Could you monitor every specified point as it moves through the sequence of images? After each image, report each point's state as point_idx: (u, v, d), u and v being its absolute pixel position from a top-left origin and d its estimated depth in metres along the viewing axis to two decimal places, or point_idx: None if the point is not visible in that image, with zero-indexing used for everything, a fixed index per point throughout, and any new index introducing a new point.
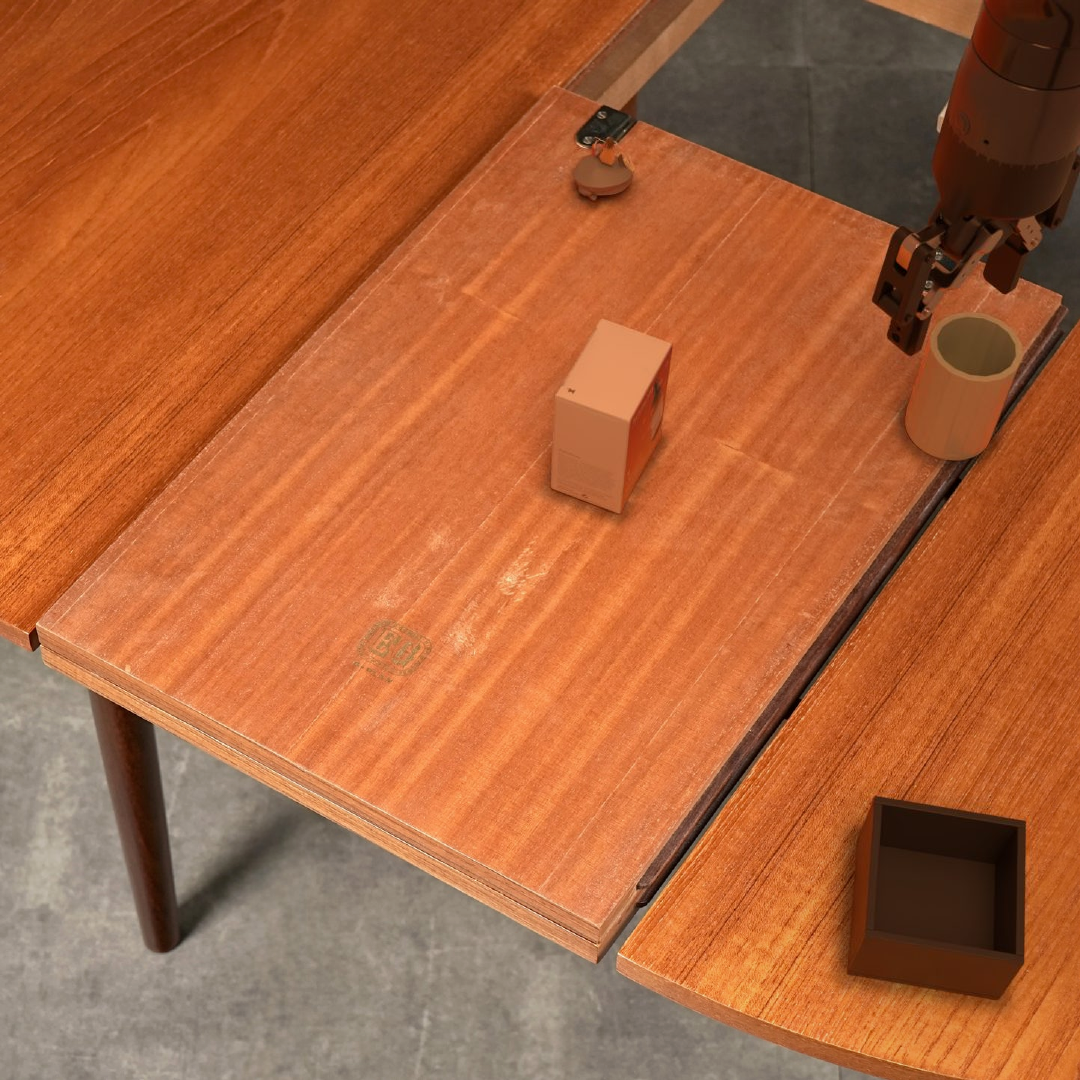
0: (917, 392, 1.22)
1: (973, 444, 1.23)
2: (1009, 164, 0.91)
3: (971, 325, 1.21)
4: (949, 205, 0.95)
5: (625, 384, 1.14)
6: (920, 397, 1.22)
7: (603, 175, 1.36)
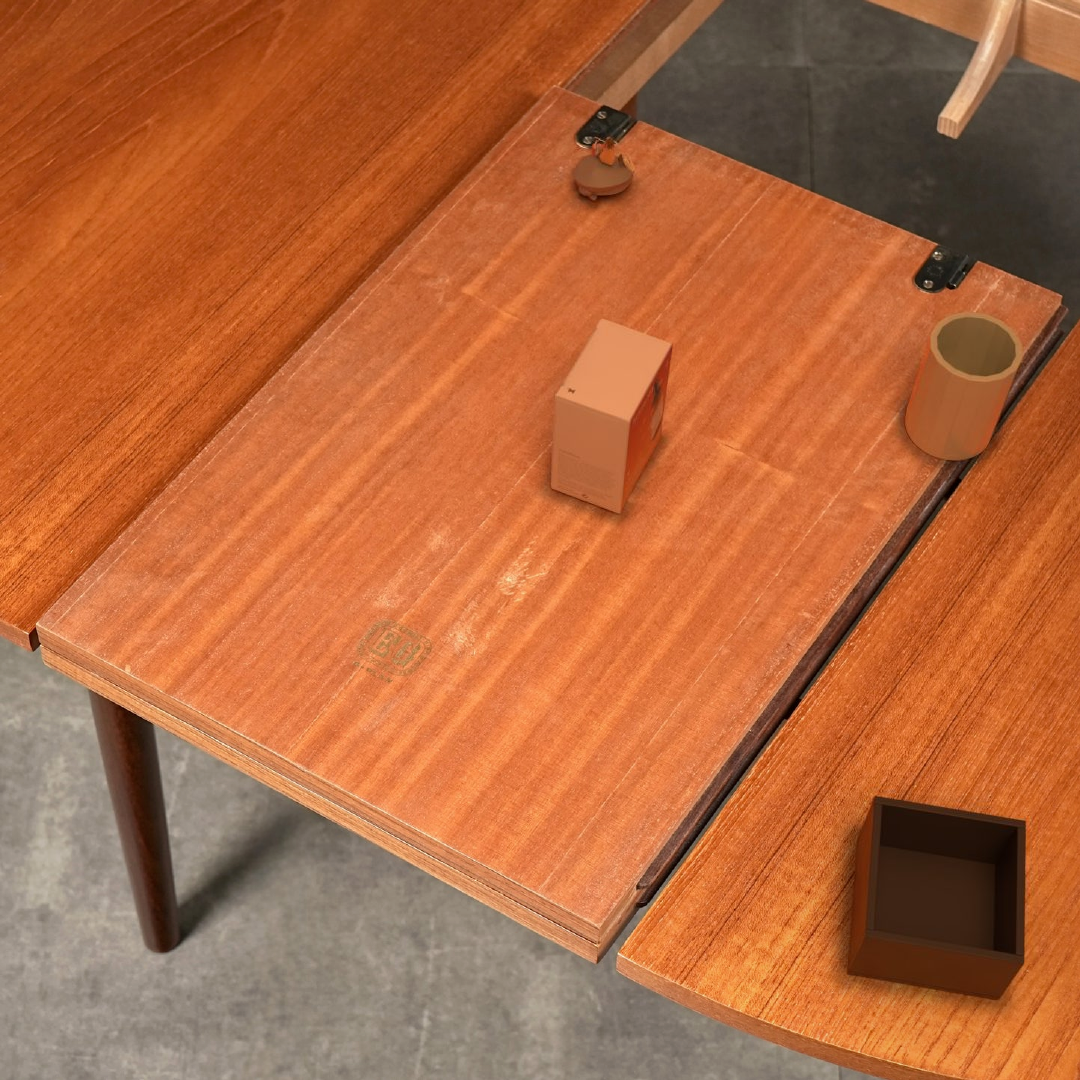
0: (917, 392, 1.22)
1: (973, 444, 1.23)
2: None
3: (971, 325, 1.21)
4: None
5: (625, 384, 1.14)
6: (920, 397, 1.22)
7: (603, 175, 1.36)
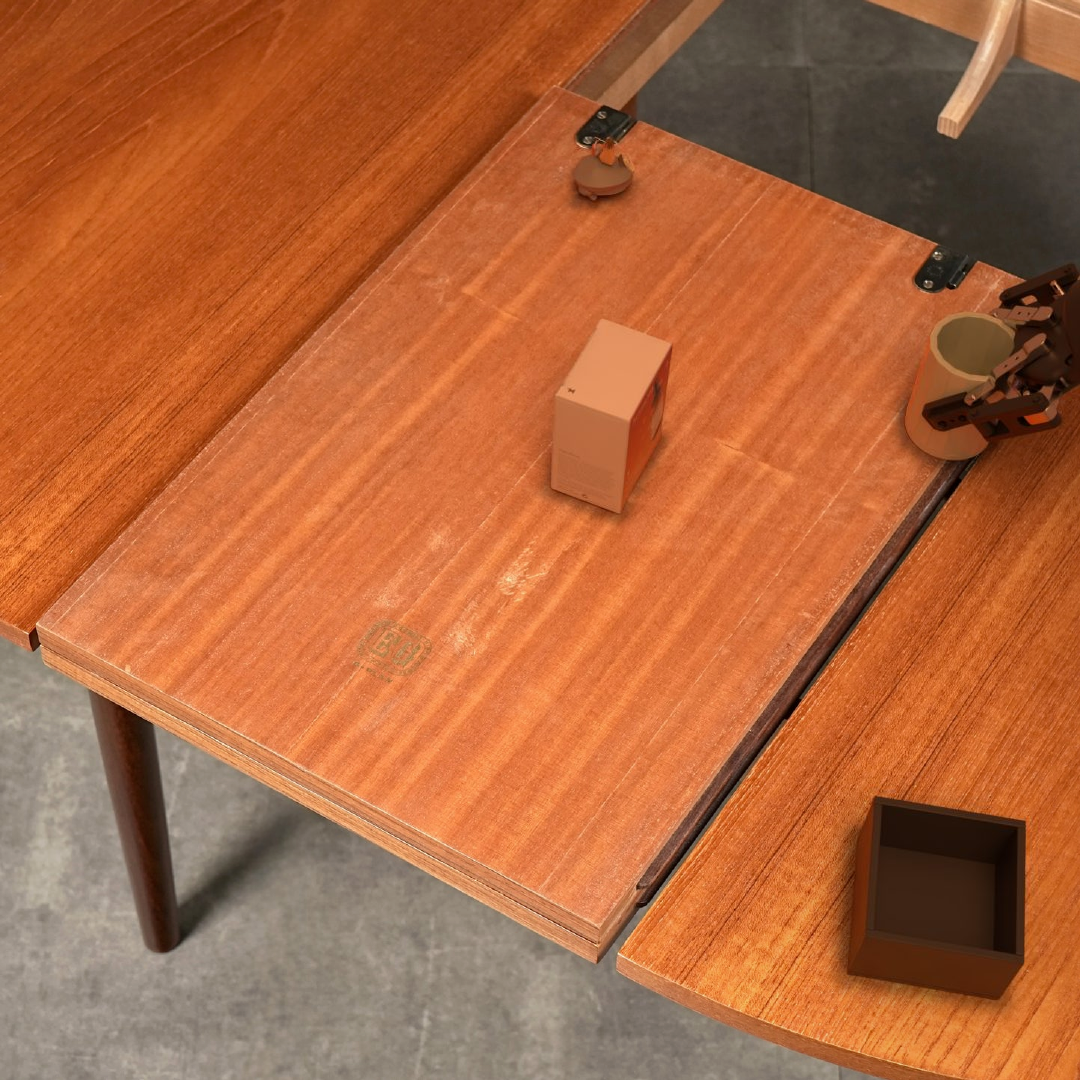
0: (917, 392, 1.22)
1: (973, 444, 1.23)
2: None
3: (971, 325, 1.21)
4: None
5: (625, 384, 1.14)
6: (920, 397, 1.22)
7: (603, 175, 1.36)
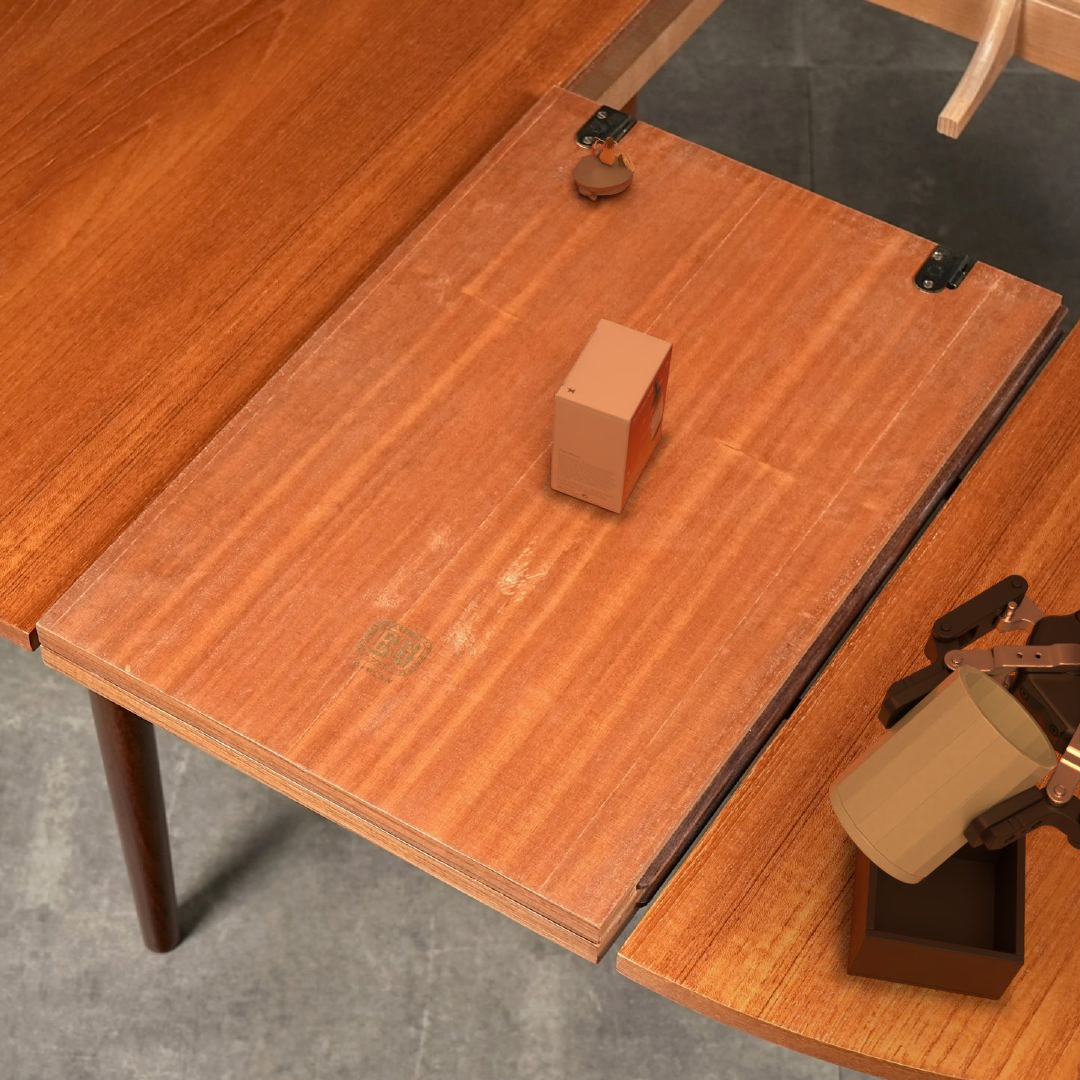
0: (926, 799, 0.80)
1: None
2: None
3: None
4: None
5: (625, 384, 1.14)
6: (939, 806, 0.80)
7: (603, 175, 1.36)
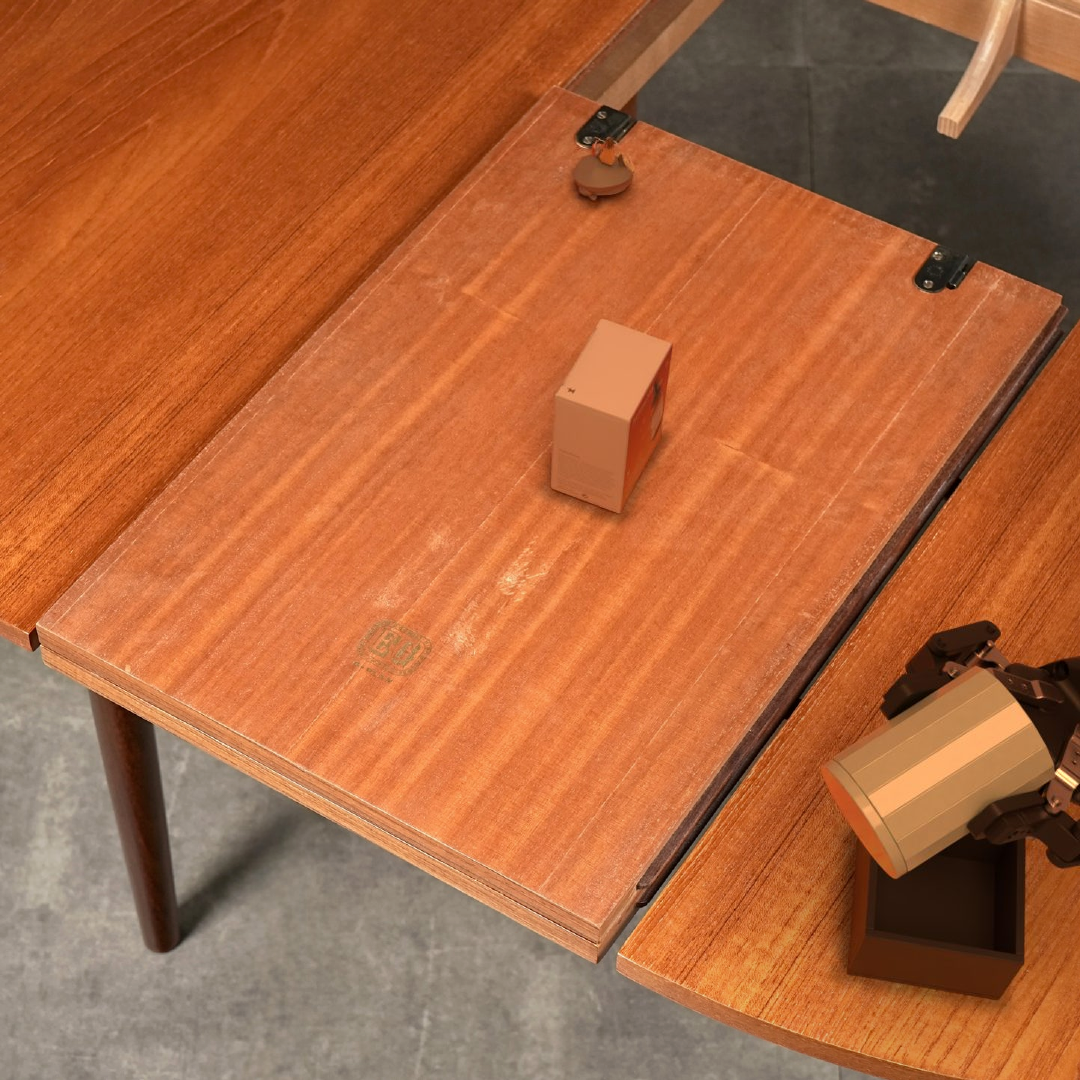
0: (946, 777, 0.79)
1: None
2: None
3: None
4: None
5: (625, 384, 1.14)
6: (957, 787, 0.79)
7: (603, 175, 1.36)
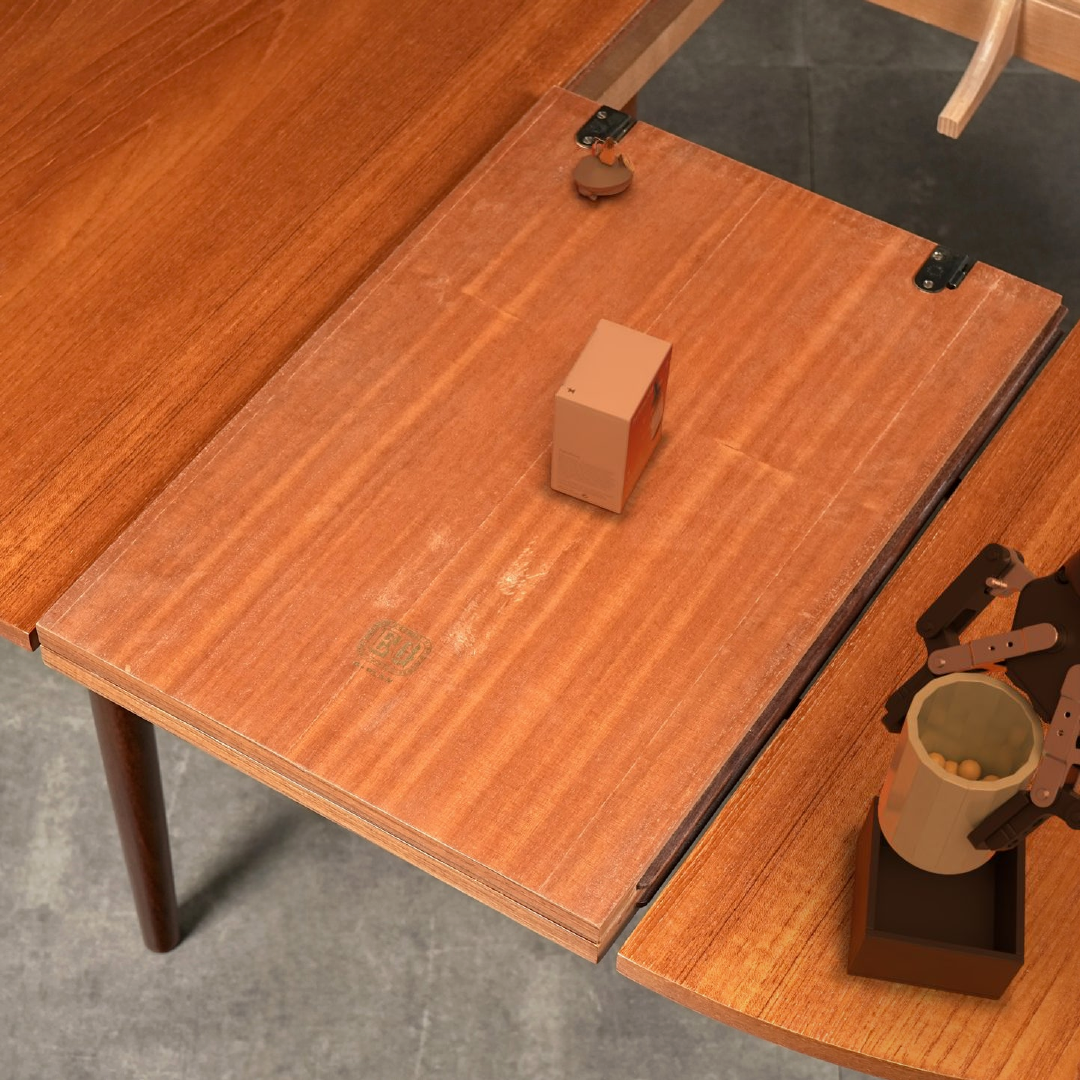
0: (923, 825, 0.83)
1: None
2: None
3: (927, 703, 0.82)
4: None
5: (625, 384, 1.14)
6: (936, 829, 0.82)
7: (603, 175, 1.36)
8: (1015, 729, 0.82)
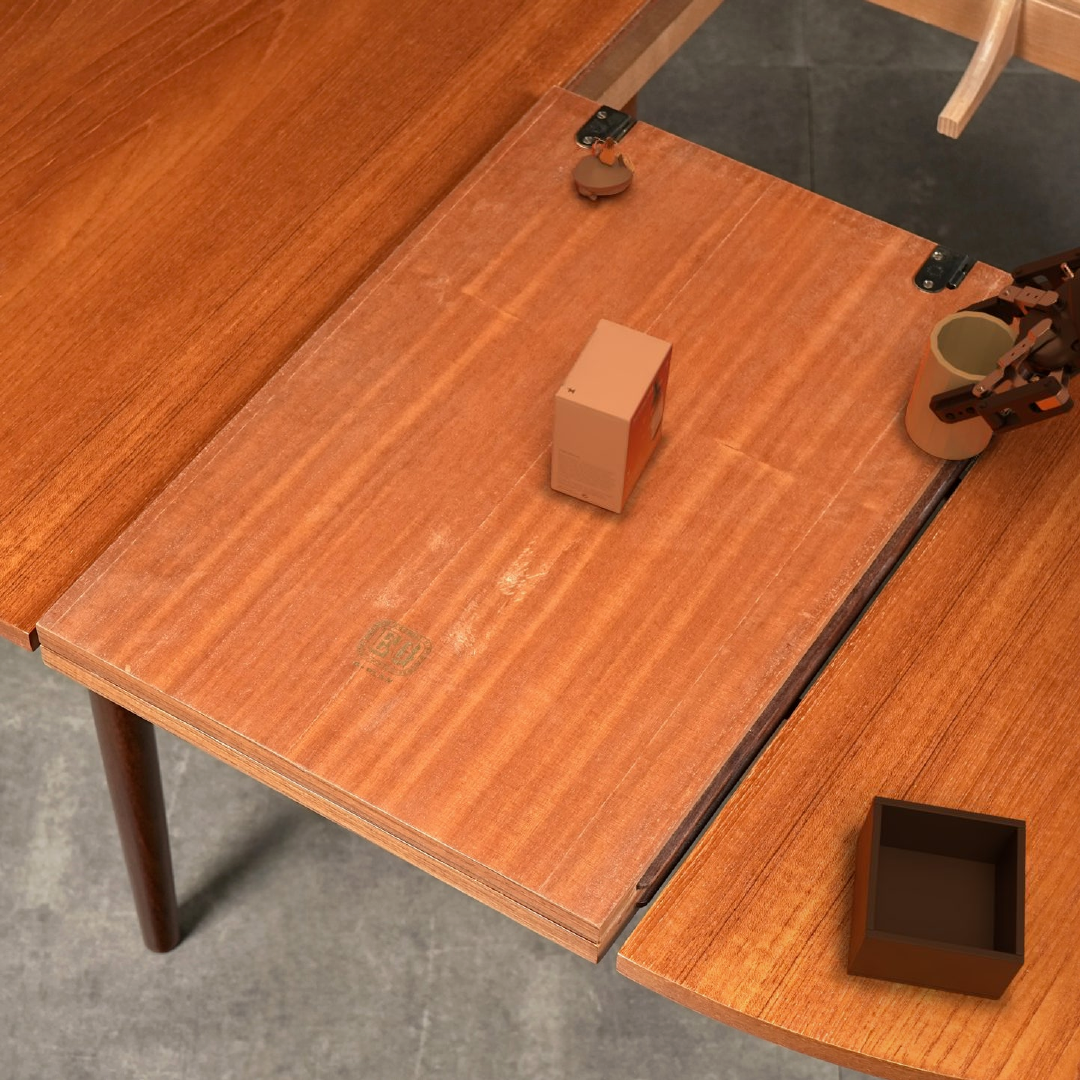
0: (917, 392, 1.22)
1: (974, 443, 1.23)
2: None
3: (971, 324, 1.21)
4: None
5: (625, 384, 1.14)
6: (920, 397, 1.22)
7: (603, 175, 1.36)
8: None
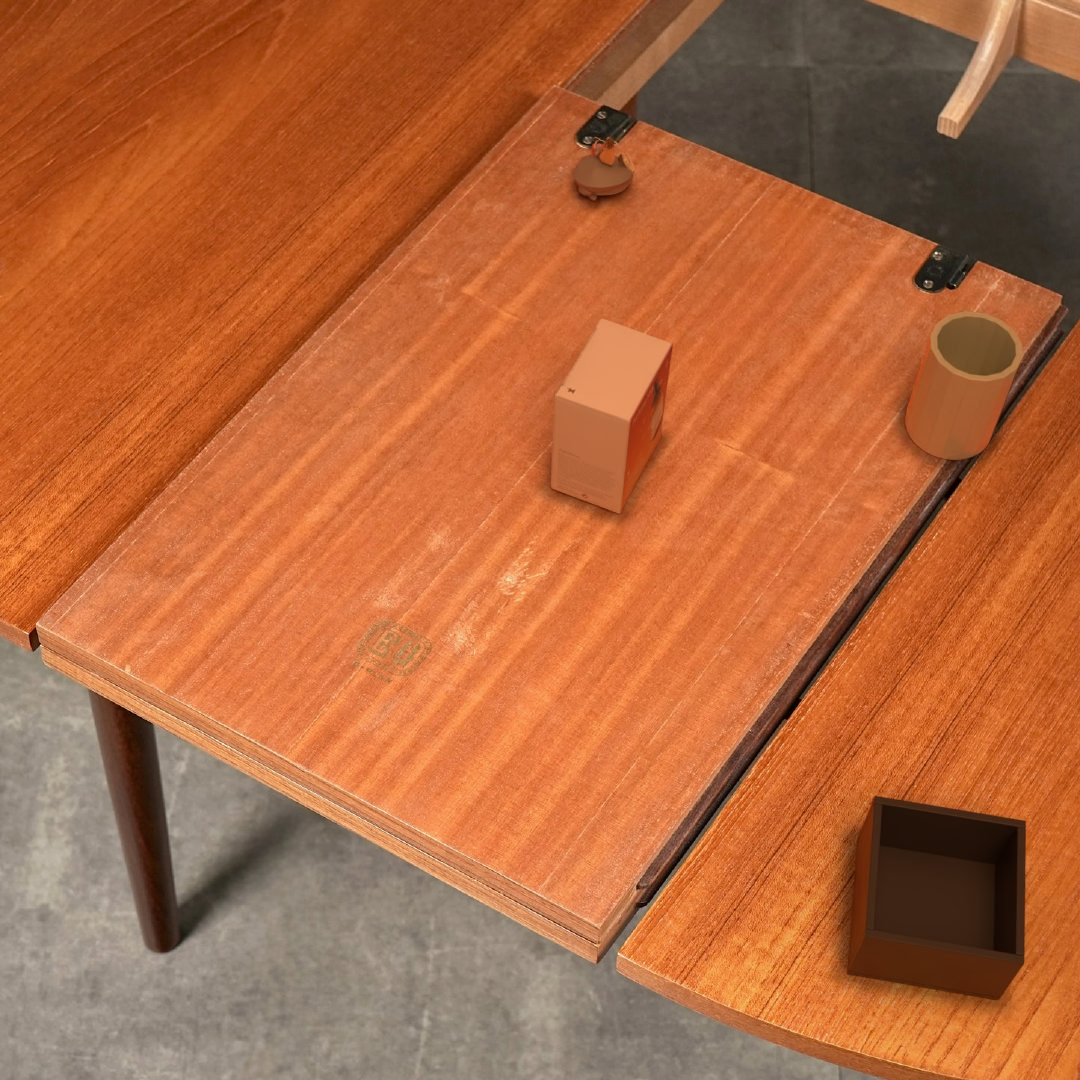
0: (917, 392, 1.22)
1: (974, 443, 1.23)
2: None
3: (971, 324, 1.21)
4: None
5: (625, 384, 1.14)
6: (920, 397, 1.22)
7: (603, 175, 1.36)
8: None
